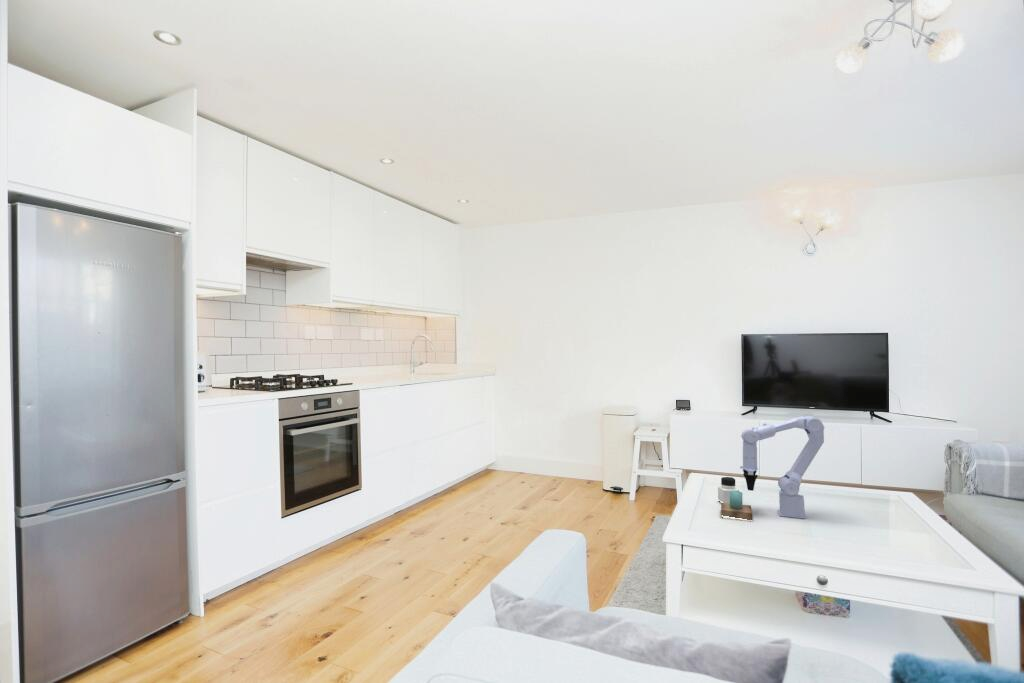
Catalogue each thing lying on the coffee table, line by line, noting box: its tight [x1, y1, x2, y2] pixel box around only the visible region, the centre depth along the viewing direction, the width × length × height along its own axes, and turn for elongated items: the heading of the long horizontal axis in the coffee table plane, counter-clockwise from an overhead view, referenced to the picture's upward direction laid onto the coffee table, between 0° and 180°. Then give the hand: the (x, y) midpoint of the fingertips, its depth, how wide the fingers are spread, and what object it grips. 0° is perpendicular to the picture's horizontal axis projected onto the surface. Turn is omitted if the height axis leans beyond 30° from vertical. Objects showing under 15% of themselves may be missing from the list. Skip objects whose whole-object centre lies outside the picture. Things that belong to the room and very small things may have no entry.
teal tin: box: [730, 490, 744, 509], centre depth 220 cm, size 5×5×6 cm
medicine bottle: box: [717, 476, 740, 503], centre depth 239 cm, size 7×7×12 cm
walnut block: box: [720, 503, 753, 520], centre depth 220 cm, size 12×12×4 cm
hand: (750, 488), depth 226 cm, fingers open, 7 cm apart
